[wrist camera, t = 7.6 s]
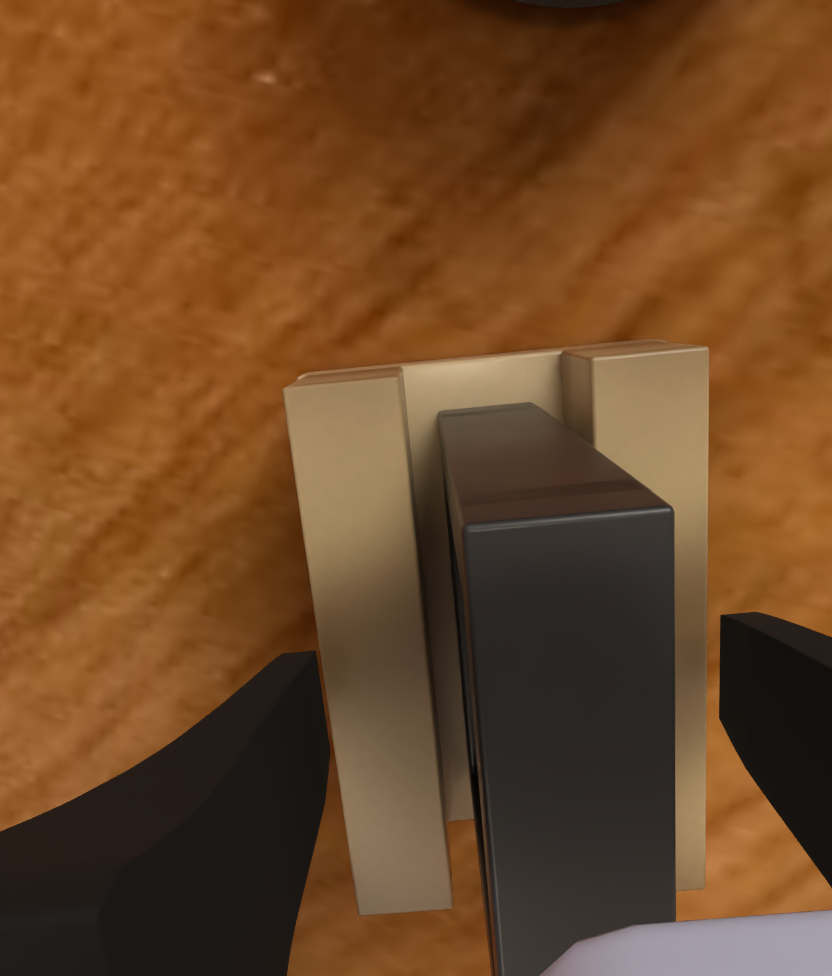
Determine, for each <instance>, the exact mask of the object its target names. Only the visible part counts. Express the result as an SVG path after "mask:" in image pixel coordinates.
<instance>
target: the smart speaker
mask: <svg viewBox="0 0 832 976" xmlns="http://www.w3.org/2000/svg"><path fill="white" fill-rule="evenodd" d="M513 1H517V2H520V3H525V4H531V5H537V6H543V7H559V8H579V7H594V6H600V5H606V4H612V3H617V2H621V1H625V0H513Z"/></svg>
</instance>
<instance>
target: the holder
mask: <svg viewBox="0 0 832 976" xmlns="http://www.w3.org/2000/svg"><path fill="white" fill-rule="evenodd" d="M282 393H283V400H284V406H285V413H286V420H287V427H288V434H289V441H290V448H291V455H292V462H293V469H294V475H295V482H296V489H297V496H298V503H299V510H300V517H301V524H302V531H303V538H304V545H305V551H306V558H307V565H308V572H309V579H310V586H311V593H312V600H313V607H314V614H315V621H316V627H317V634H318V641H319V648H320V655H321V662H322V669H323V676H324V683H325V690H326V696H327V703H328V710H329V717H330V724H331V731H332V738H333V745H334V752H335V759H336V766H337V772H338V779H339V786H340V793H341V800H342V807H343V814H344V821H345V828H346V835H347V842H348V848H349V855H350V862H351V869H352V876H353V883H354V890H355V897H356V904H357V911H358V914H359V915H360V916H367V915H380V914H393V913H405V912H418V911H431V910H444V909H452V908H453V890H452V874H451V857H450V840H449V824H448V821H459V820H471V819H474V814H473V805H472V796H471V787H470V777H469V765H468V754H467V743H466V732H465V720H464V709H463V698H462V686H461V675H460V664H459V652H458V641H457V630H456V619H455V607H454V596H453V585H452V573H451V562H450V551H449V540H448V528H447V517H446V506H445V494H444V483H443V472H442V461H441V449H440V438H439V427H438V412H440V411H442V410H451V409H462V408H472V407H483V406H493V405H504V404H514V403H525V402H531V403H534V404H535V405H536V406H539V407H540V408H542V409H543V410H544V411H546V412H547V413H548V414H550V415H551V416H552V417H554V418H555V419H556V420H558V421H559V422H560V423H562V424H563V425H564V426H566V427H567V428H569V429H570V430H571V431H573V432H574V433H575V434H577V435H578V436H579V437H581V438H582V439H583V440H585V441H586V442H587V443H589V444H590V445H591V446H593V447H594V448H595V449H597V450H598V451H599V452H601V453H602V454H603V455H605V456H606V457H607V458H609V459H610V460H612V461H613V462H614V463H616V464H617V465H618V466H620V467H621V468H622V469H624V470H625V471H626V472H628V473H629V474H630V475H632V476H633V477H634V478H636V479H637V480H638V481H640V482H641V483H642V484H644V485H645V486H646V487H648V488H649V489H651V490H652V492H654V493H655V494H656V495H658V496H659V497H660V498H662V499H663V500H664V501H666V502H667V503H668V504H670V505H671V506H672V507H673V509H674V512H675V803H676V891H685V890H698V889H704V888H705V828H706V694H707V561H708V427H709V349H708V347H706V346H701V345H691V344H682V343H672V342H667V341H665V340H661V339H650V338H649V339H639V340H629V341H619V342H609V343H599V344H588V345H578V346H568V347H558V348H548V349H538V350H528V351H518V352H507V353H497V354H487V355H477V356H467V357H457V358H447V359H437V360H426V361H416V362H406V363H396V364H386V365H376V366H366V367H356V368H345V369H335V370H325V371H315V372H306V373H304V374H302V375H300V376H299V377H297V381H296V382H294V383H292V384H290V385H288V386H287V387H285V388H283V391H282Z"/></svg>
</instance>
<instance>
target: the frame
mask: <svg viewBox="0 0 832 976" xmlns="http://www.w3.org/2000/svg"><path fill="white" fill-rule="evenodd" d="M438 427H439V438H440V449H441V461H442V472H443V483H444V494H445V506H446V517H447V528H448V540H449V551H450V562H451V573H452V585H453V596H454V607H455V619H456V630H457V641H458V652H459V664H460V675H461V686H462V698H463V709H464V720H465V732H466V743H467V754H468V765H469V777H470V787H471V796H472V805H473V814H474V823H475V832H476V841H477V850H478V859H479V868H480V877H481V886H482V895H483V903H484V912H485V921H486V930H487V939H488V948H489V957H490V966H491V975H492V976H540V975H541V974H542V973H543V972H544V971H545V970H546V969H547V968H548V967H549V966H551V965H552V964H553V963H554V962H555V961H556V960H557V959H558V958H559V957H560V956H562V955H563V954H564V953H565V952H566V951H567V950H568V949H569V948H570V947H571V946H572V945H574V944H575V943H576V942H577V941H579V940H583V939H586V938H590V937H593V936H596V935H600V934H603V933H607V932H610V931H613V930H617V929H620V928H624V927H627V926H630V925H637V924H650V923H664V922H676V803H675V512H674V509H673V507H672V506H671V505H670V504H668V503H667V502H666V501H664V500H663V499H662V498H660V497H659V496H658V495H656V494H655V493H654V492H652V490H651V489H649V488H648V487H646V486H645V485H644V484H642V483H641V482H640V481H638V480H637V479H636V478H634V477H633V476H632V475H630V474H629V473H628V472H626V471H625V470H624V469H622V468H621V467H620V466H618V465H617V464H616V463H614V462H613V461H612V460H610V459H609V458H607V457H606V456H605V455H603V454H602V453H601V452H599V451H598V450H597V449H595V448H594V447H593V446H591V445H590V444H589V443H587V442H586V441H585V440H583V439H582V438H581V437H579V436H578V435H577V434H575V433H574V432H573V431H571V430H570V429H569V428H567V427H566V426H564V425H563V424H562V423H560V422H559V421H558V420H556V419H555V418H554V417H552V416H551V415H550V414H548V413H547V412H546V411H544V410H543V409H542V408H540V407H539V406H536V405H535V404H534V403H531V402H525V403H514V404H504V405H493V406H483V407H472V408H462V409H451V410H442V411H440V412H438Z"/></svg>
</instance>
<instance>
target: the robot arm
mask: <svg viewBox="0 0 832 976" xmlns="http://www.w3.org/2000/svg"><path fill="white" fill-rule="evenodd" d="M719 719H720V721H721V723H722V724H723V726H724V728H725V730H726V732H727V734H728V736H729V738H730V740H731V742H732V744H733V746H734V748H735V750H736V752H737V753H738V755H739V757H740V759H741V761H742V762H743V764H744V766H745V768H746V769H747V771H748V772H749V774H750V775H751V776H752V778H753V779H754V781H755V782H756V784H757V785H758V786H759V788H760V789H761V791H762V792H763V793H764V795H765V796H766V798H767V799H768V800H769V802H770V803H771V805H772V806H773V807H774V809H775V810H776V811H777V813H778V814H779V816H780V817H781V818H782V820H783V821H784V822H785V824H786V825H787V827H788V828H789V829H790V831H791V832H792V833H793V835H794V836H795V838H796V839H797V840H798V842H799V843H800V844H801V846H802V847H803V849H804V850H805V851H806V853H807V854H808V855H809V857H810V858H811V860H812V861H813V862H814V864H815V865H816V866H817V868H818V869H819V871H820V872H821V873H822V875H823V876H824V877H825V879H826V880H827V882H828V883H829V885H830V886H831V888H832V637H830V636H827V635H824V634H821V633H819V632H816V631H813V630H811V629H808V628H805V627H803V626H800V625H797V624H794V623H792V622H789V621H786V620H783V619H780V618H777V617H774V616H770V615H767V614H762V613H758V612H749V613H738V614H727V615H721V619H720V699H719ZM329 760H330V745H329V738H328V731H327V724H326V717H325V710H324V704H323V697H322V690H321V683H320V676H319V669H318V663H317V656H316V651H307V652H295V653H284V654H281V655H280V656H278V657H277V658H275V659H274V660H273V661H272V662H270V663H269V664H268V665H267V666H266V667H265V668H263V669H262V670H261V671H260V672H259V673H258V674H256V675H255V676H254V677H253V678H252V679H251V680H250V681H248V682H247V683H246V684H245V685H244V686H243V687H241V688H240V689H239V690H238V691H237V692H236V693H234V694H233V695H232V696H231V697H230V698H229V699H227V700H226V701H225V702H224V703H223V704H221V705H220V706H219V707H218V708H216V709H215V710H214V711H212V712H211V713H210V714H209V715H207V716H206V717H205V718H203V719H202V720H201V721H199V722H198V723H197V724H196V725H194V726H193V727H192V728H190V729H189V730H188V731H187V732H185V733H184V734H183V735H181V736H180V737H178V738H177V739H176V740H174V741H173V742H171V743H170V744H168V745H167V746H165V747H164V748H162V749H161V750H159V751H158V752H156V753H155V754H153V755H152V756H150V757H148V758H147V759H145V760H144V761H142V762H140V763H139V764H137V765H136V766H134V767H132V768H131V769H129V770H127V771H126V772H124V773H122V774H120V775H118V776H117V777H115V778H113V779H111V780H109V781H107V782H105V783H103V784H101V785H99V786H98V787H96V788H94V789H92V790H90V791H88V792H86V793H84V794H82V795H80V796H79V797H77V798H75V799H73V800H71V801H69V802H67V803H65V804H63V805H61V806H58V807H56V808H54V809H52V810H50V811H47V812H45V813H43V814H41V815H38V816H36V817H34V818H32V819H29V820H27V821H25V822H22V823H20V824H17V825H15V826H13V827H10V828H8V829H5V830H3V831H0V976H287V970H288V963H289V956H290V950H291V945H292V940H293V935H294V930H295V925H296V920H297V916H298V912H299V908H300V904H301V900H302V896H303V891H304V887H305V883H306V879H307V875H308V871H309V867H310V863H311V859H312V855H313V851H314V847H315V843H316V838H317V834H318V830H319V826H320V822H321V817H322V813H323V809H324V804H325V798H326V789H327V781H328V771H329ZM540 976H832V910H820V911H807V912H794V913H781V914H768V915H755V916H742V917H729V918H716V919H703V920H690V921H677V922H664V923H650V924H637V925H630V926H627V927H624V928H620V929H617V930H613V931H610V932H607V933H603V934H600V935H596V936H593V937H590V938H586V939H583V940H579V941H577V942H576V943H575V944H574V945H572V946H571V947H570V948H569V949H568V950H567V951H566V952H565V953H564V954H563V955H562V956H560V957H559V958H558V959H557V960H556V961H555V962H554V963H553V964H552V965H551V966H549V967H548V968H547V969H546V970H545V971H544V972H543V973H542V974H541V975H540Z"/></svg>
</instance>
